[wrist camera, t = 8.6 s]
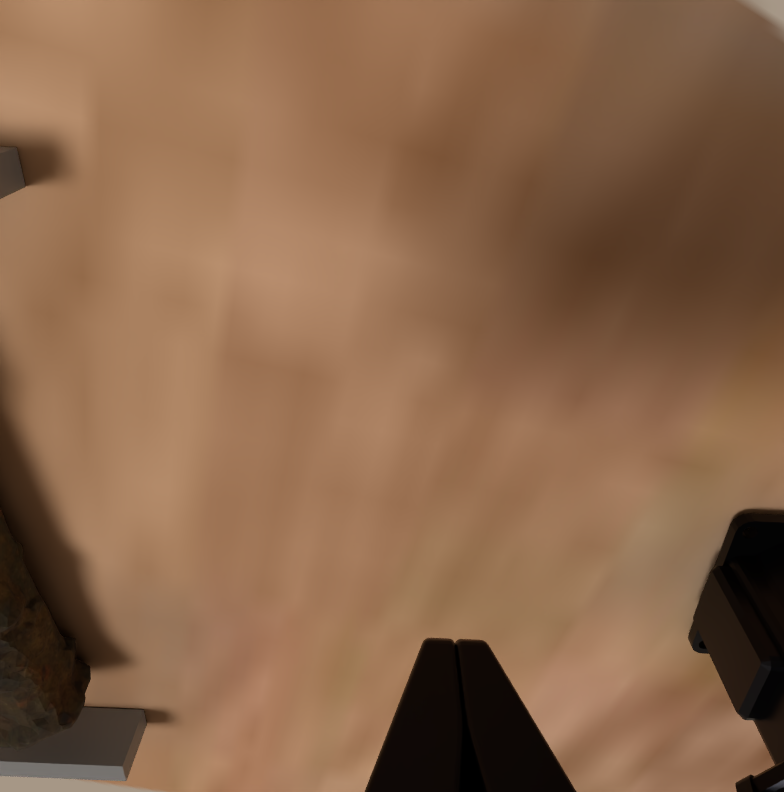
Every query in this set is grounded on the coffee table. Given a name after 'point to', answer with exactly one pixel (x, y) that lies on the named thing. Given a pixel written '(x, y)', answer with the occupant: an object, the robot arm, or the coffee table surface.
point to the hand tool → (33, 659)
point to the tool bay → (95, 727)
